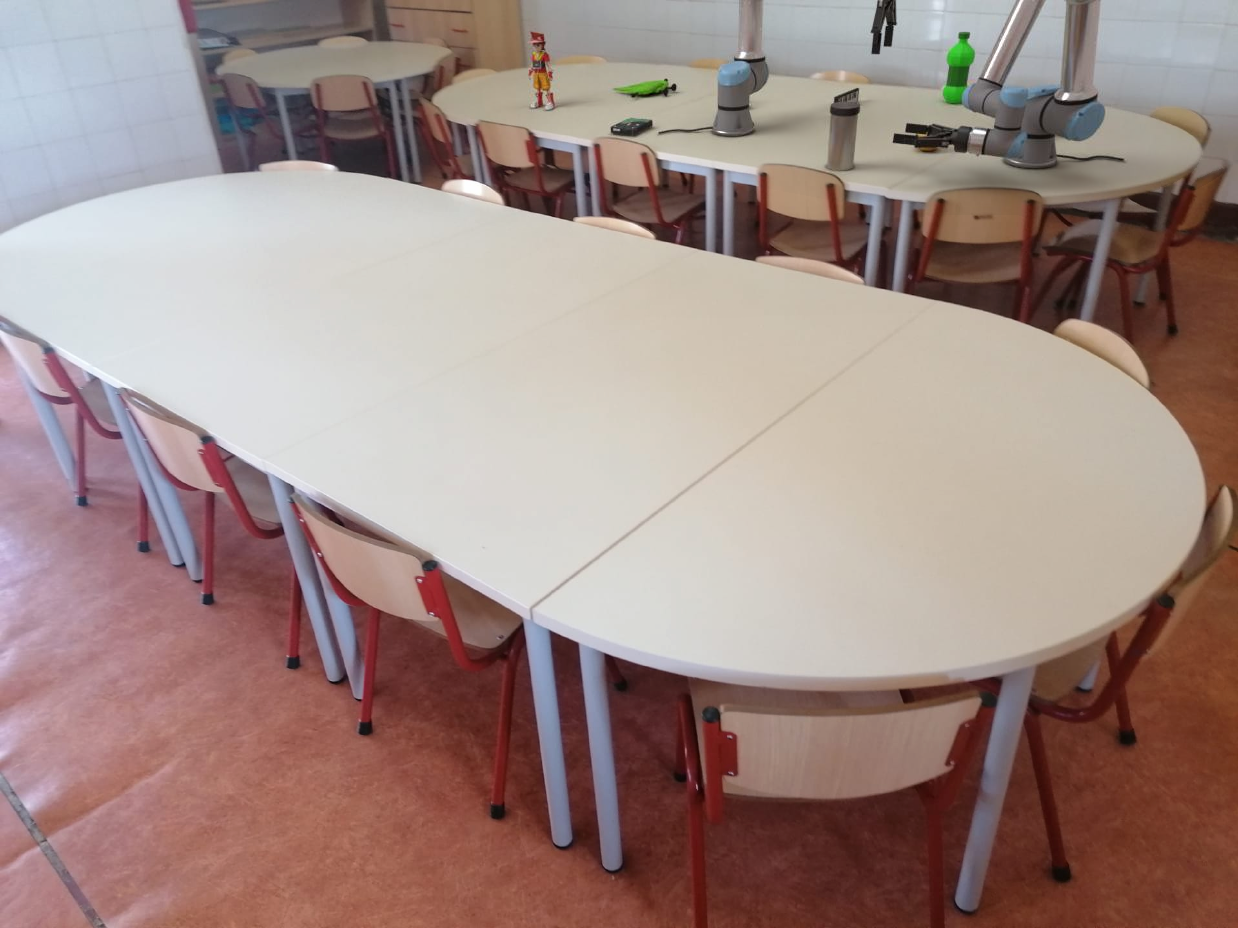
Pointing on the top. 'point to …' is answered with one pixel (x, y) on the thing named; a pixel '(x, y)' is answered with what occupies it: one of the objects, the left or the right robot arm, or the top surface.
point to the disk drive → (631, 126)
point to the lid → (845, 108)
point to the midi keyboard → (848, 96)
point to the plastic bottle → (958, 68)
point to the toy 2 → (648, 88)
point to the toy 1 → (541, 71)
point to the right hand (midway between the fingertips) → (899, 133)
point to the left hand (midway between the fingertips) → (881, 50)
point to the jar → (842, 142)
